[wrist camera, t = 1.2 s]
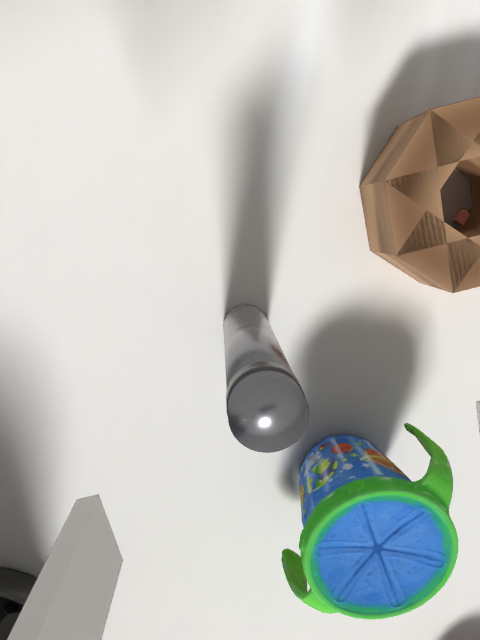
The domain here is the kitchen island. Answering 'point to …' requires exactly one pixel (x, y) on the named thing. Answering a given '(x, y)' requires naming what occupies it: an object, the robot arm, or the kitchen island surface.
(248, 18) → the kitchen island surface
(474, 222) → the bead
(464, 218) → the pink stick
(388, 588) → the snack cup
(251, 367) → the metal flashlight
